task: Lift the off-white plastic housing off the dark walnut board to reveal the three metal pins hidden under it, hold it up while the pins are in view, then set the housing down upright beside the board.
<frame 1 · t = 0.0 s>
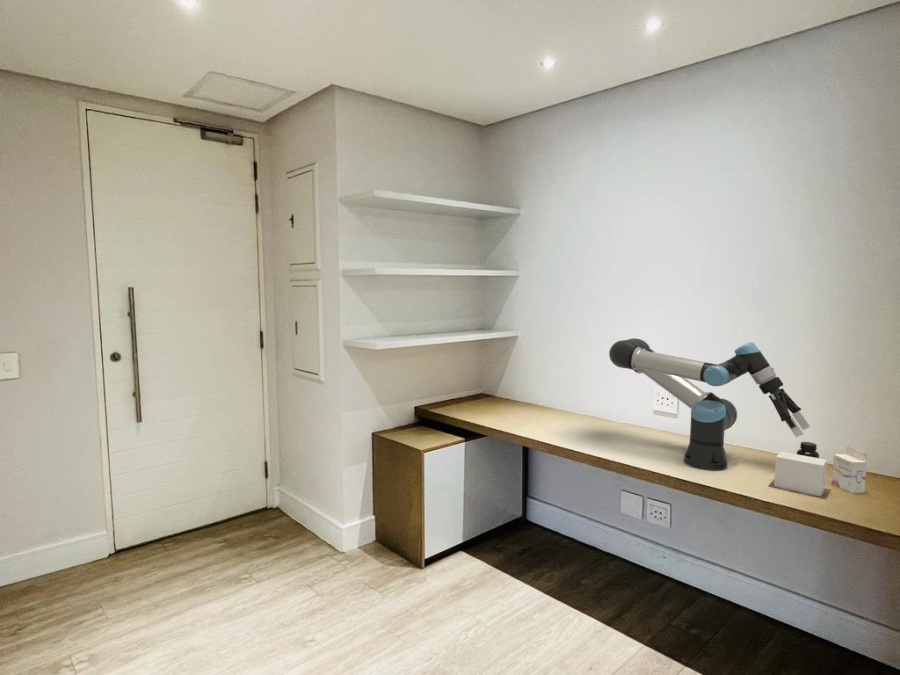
hand: (803, 432, 199), 15 cm above the table, tool tilted 35°, fingers open, 13 cm apart
pin board: (798, 492, 181), on the table
housing: (799, 488, 181), point 1 cm above the table, touching pin board
ink cartridge box: (847, 492, 182), on the table
supplement bottle: (806, 476, 197), on the table
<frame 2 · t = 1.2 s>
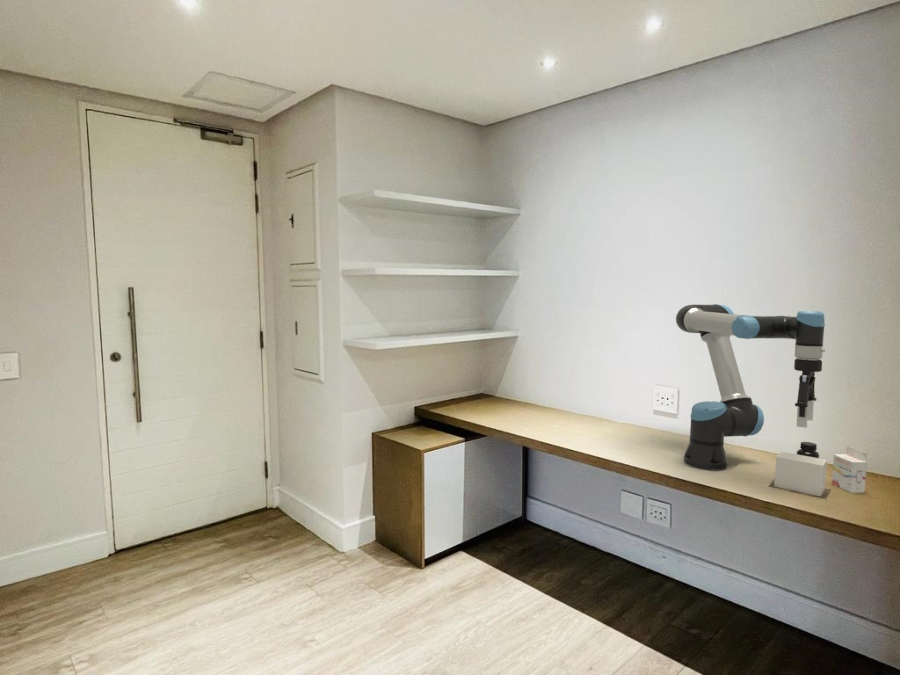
hand: (804, 423, 180), 23 cm above the table, tool pointing down, fingers open, 13 cm apart
nothing on the table moved.
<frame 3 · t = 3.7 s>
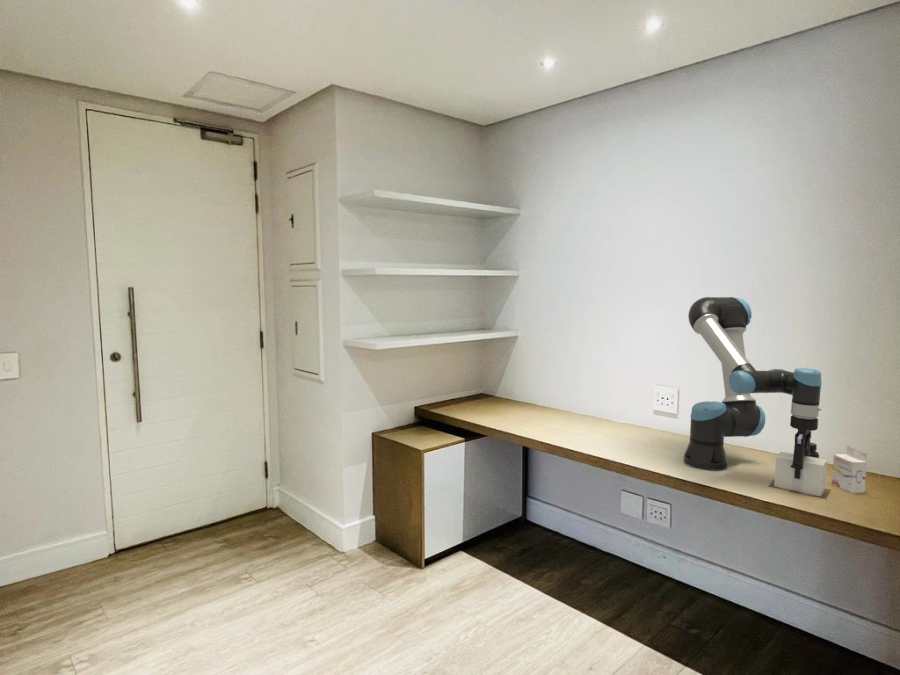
hand: (799, 484, 181), 3 cm above the table, tool pointing down, fingers closed on housing, 8 cm apart
housing: (799, 488, 181), point 2 cm above the table, touching gripper, pin board
everything else where it was.
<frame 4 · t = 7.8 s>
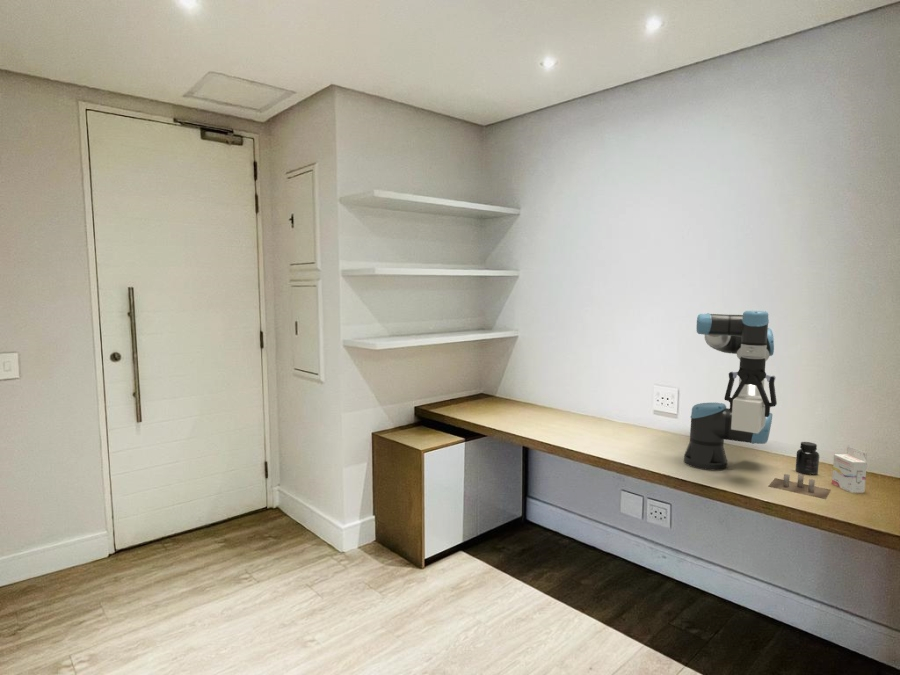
hand: (748, 423, 186), 21 cm above the table, tool pointing down, fingers closed on housing, 8 cm apart
housing: (748, 427, 186), point 20 cm above the table, touching gripper
everything else where it was.
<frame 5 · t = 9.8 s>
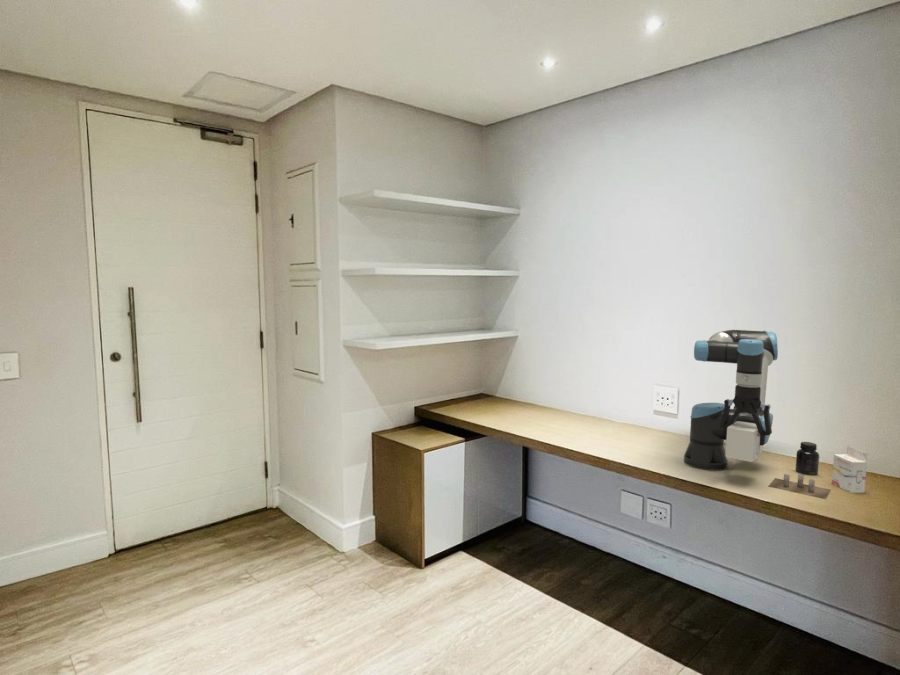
hand: (743, 451, 187), 11 cm above the table, tool pointing down, fingers closed on housing, 8 cm apart
housing: (743, 455, 187), point 10 cm above the table, touching gripper
everything else where it was.
when the fingers open (3 cm above the table, at t = 11.8 s): housing drops 2 cm, on the table.
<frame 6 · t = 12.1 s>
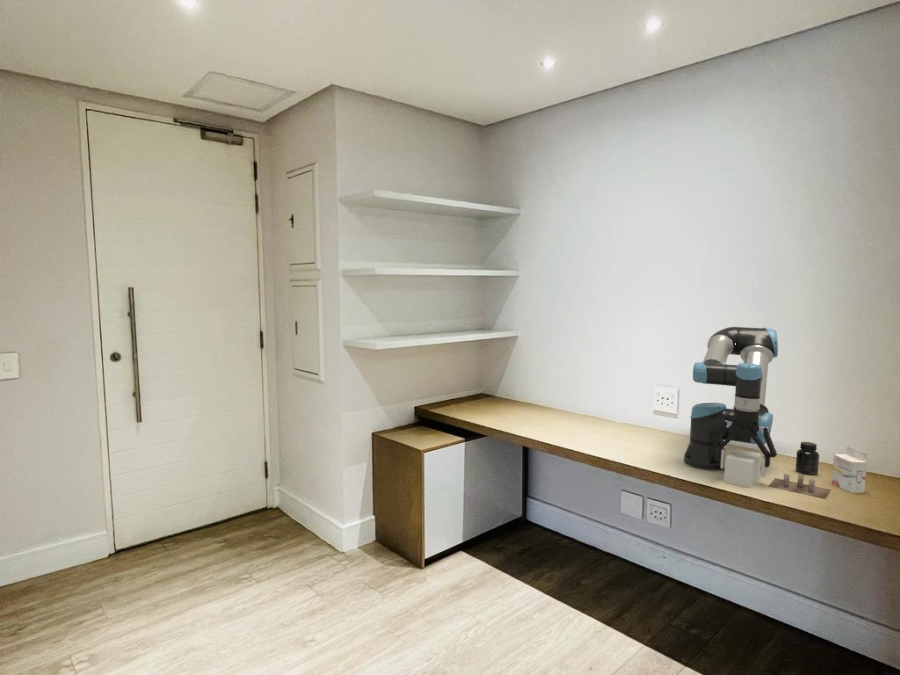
hand: (742, 471, 188), 4 cm above the table, tool pointing down, fingers open, 12 cm apart
housing: (741, 484, 188), on the table
everything else where it was.
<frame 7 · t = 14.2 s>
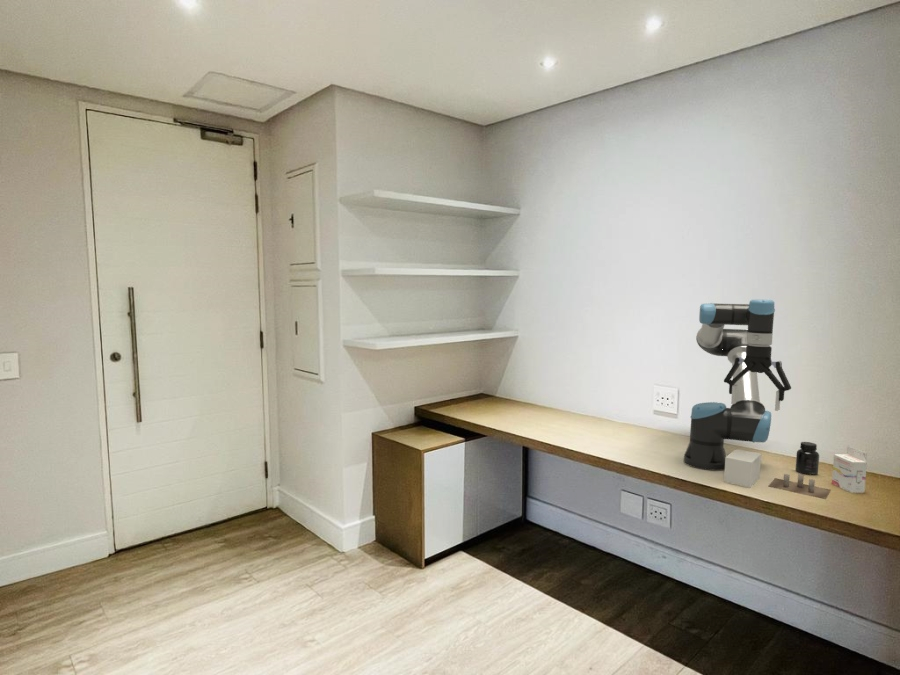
hand: (754, 406, 189), 26 cm above the table, tool pointing down, fingers open, 13 cm apart
nothing on the table moved.
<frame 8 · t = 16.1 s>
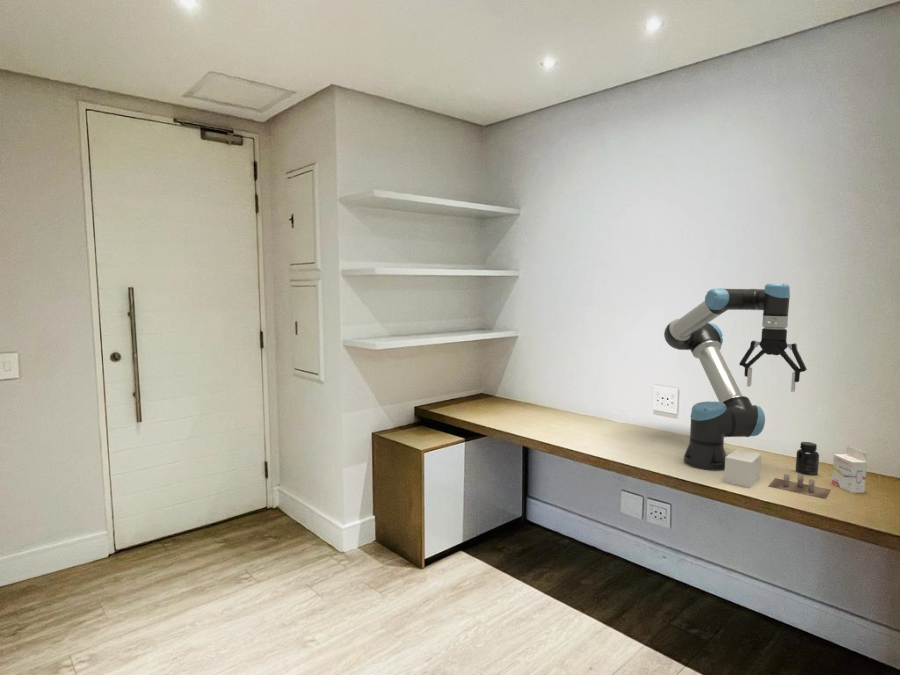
hand: (770, 388, 193), 32 cm above the table, tool pointing down, fingers open, 13 cm apart
nothing on the table moved.
at the end: housing inside the target area (0.0 cm from its centre), on the table; housing tilted 0°; the gripper is holding nothing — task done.
